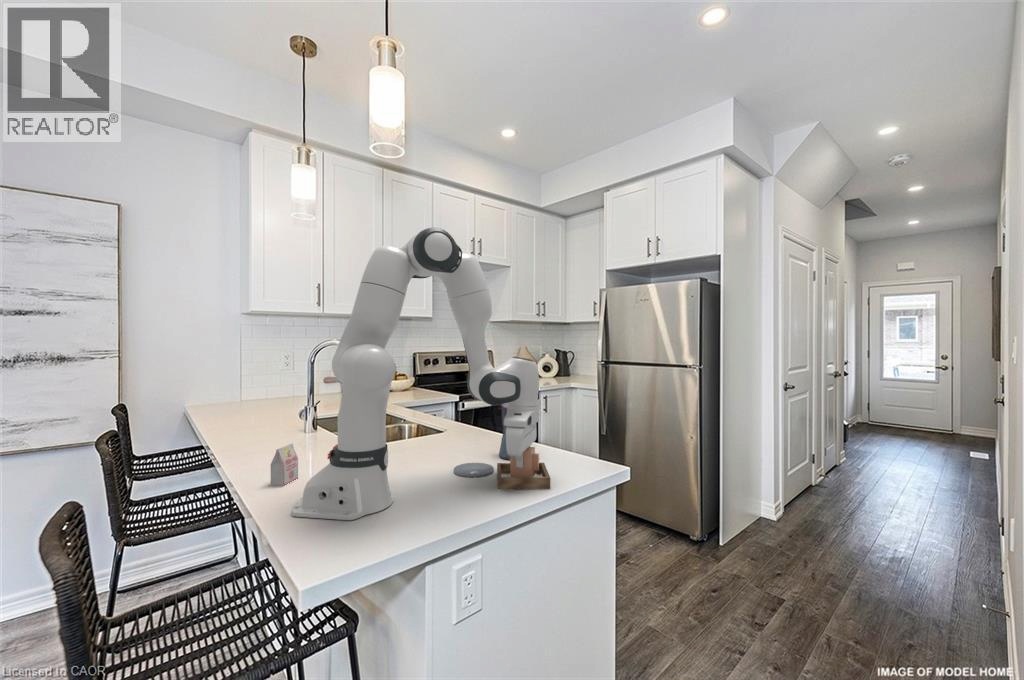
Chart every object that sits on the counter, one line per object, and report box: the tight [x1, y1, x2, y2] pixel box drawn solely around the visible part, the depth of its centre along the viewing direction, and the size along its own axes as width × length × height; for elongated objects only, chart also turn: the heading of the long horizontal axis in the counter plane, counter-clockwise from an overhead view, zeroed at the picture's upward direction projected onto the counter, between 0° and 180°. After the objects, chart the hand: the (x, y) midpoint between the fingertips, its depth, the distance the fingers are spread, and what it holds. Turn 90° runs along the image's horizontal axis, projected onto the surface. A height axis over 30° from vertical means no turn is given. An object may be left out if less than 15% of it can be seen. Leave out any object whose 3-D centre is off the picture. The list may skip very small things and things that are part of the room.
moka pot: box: [488, 403, 510, 460], centre depth 150 cm, size 10×15×20 cm, turn 89°
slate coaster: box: [453, 462, 495, 479], centre depth 134 cm, size 12×12×1 cm
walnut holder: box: [496, 462, 551, 490], centre depth 126 cm, size 14×14×3 cm
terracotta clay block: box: [509, 446, 540, 477], centre depth 125 cm, size 8×4×8 cm, turn 75°
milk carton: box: [270, 443, 299, 487], centre depth 124 cm, size 4×7×10 cm, turn 173°
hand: (522, 463), depth 126 cm, fingers closed on terracotta clay block, 4 cm apart
